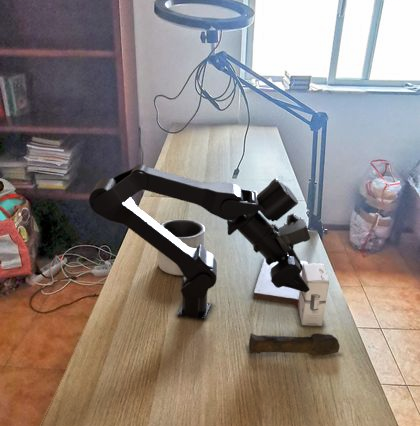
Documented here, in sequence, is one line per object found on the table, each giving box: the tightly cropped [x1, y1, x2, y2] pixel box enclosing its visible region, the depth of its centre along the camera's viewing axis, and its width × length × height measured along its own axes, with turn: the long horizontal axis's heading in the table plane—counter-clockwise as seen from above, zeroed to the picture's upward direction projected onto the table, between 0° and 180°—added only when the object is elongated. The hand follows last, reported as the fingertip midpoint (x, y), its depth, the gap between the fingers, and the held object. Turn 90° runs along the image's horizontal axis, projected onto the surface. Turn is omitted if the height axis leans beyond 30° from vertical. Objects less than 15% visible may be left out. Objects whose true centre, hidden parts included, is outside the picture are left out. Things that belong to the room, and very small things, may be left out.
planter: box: [157, 218, 206, 277], centre depth 130 cm, size 12×12×11 cm
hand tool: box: [248, 333, 341, 357], centre depth 102 cm, size 19×4×5 cm, turn 87°
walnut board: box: [252, 257, 309, 305], centre depth 127 cm, size 20×12×2 cm, turn 167°
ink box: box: [297, 262, 330, 327], centre depth 112 cm, size 9×5×12 cm, turn 178°
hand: (304, 280), depth 110 cm, fingers open, 9 cm apart
